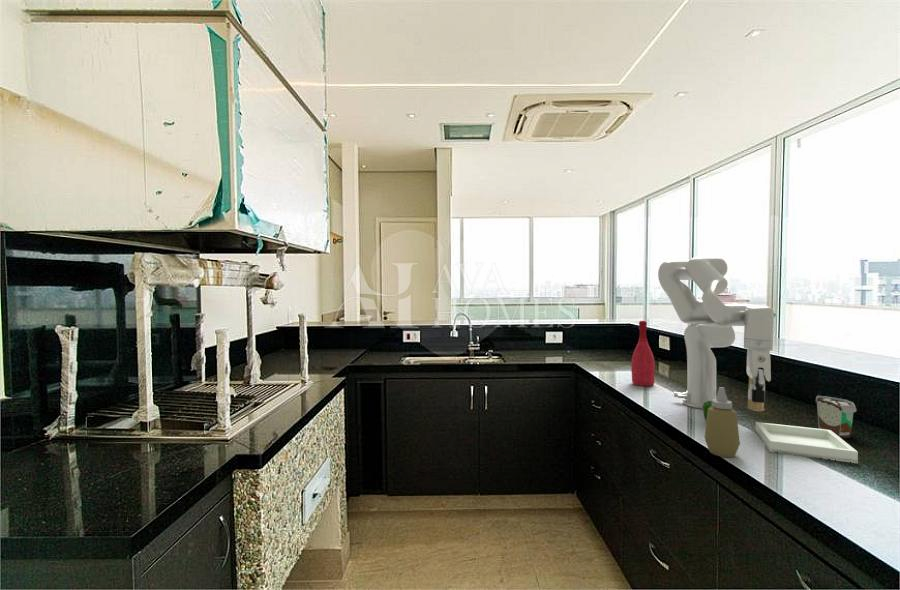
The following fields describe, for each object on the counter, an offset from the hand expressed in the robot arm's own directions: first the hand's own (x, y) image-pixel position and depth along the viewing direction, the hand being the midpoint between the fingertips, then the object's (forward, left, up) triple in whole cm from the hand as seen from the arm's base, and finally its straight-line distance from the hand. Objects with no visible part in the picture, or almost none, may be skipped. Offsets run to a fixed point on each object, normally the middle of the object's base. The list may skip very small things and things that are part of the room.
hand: (756, 399), depth 134 cm
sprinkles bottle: (0, 0, -4) cm, 4 cm away
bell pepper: (-11, -8, -9) cm, 16 cm away
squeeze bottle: (-13, -32, -9) cm, 36 cm away
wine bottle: (-34, +49, -9) cm, 61 cm away
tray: (+8, -16, -9) cm, 20 cm away
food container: (+22, +2, -9) cm, 23 cm away
